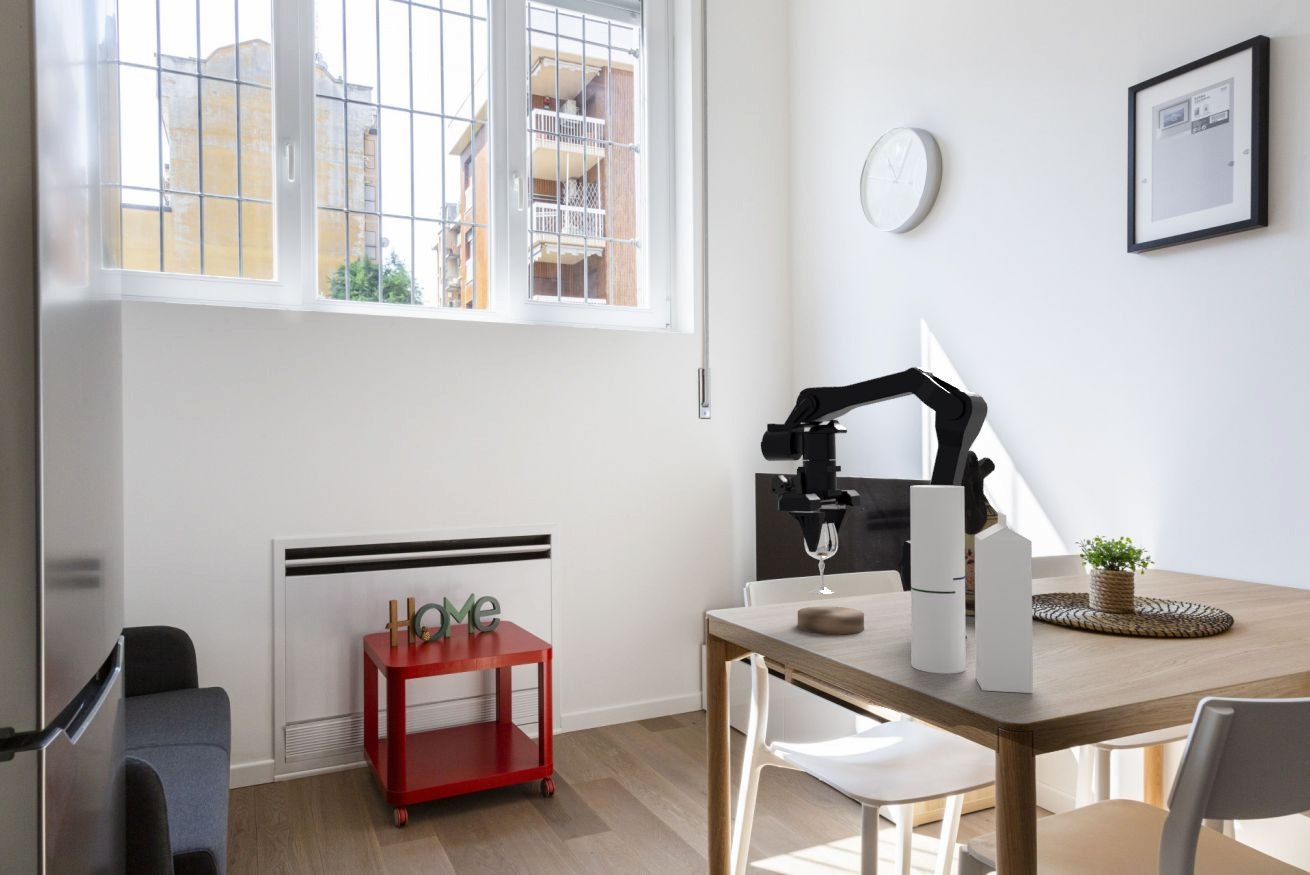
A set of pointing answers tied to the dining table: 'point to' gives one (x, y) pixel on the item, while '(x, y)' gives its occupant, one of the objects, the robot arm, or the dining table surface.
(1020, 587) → the milk
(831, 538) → the wineglass
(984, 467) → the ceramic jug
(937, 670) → the cylindrical container
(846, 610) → the walnut riser
